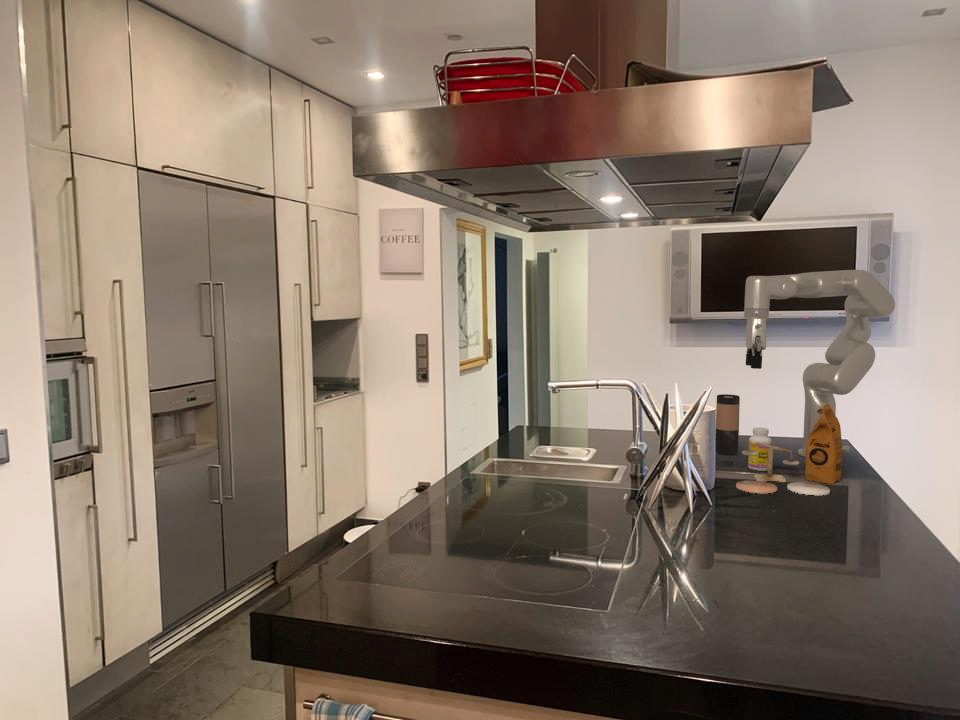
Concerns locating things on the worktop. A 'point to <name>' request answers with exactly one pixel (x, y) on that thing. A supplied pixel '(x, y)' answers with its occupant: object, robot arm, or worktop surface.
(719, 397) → the travel mug
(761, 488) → the plate terracotta
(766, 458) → the supplement bottle
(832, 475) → the coffee package
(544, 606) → the worktop surface
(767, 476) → the balance
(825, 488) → the plate offwhite
